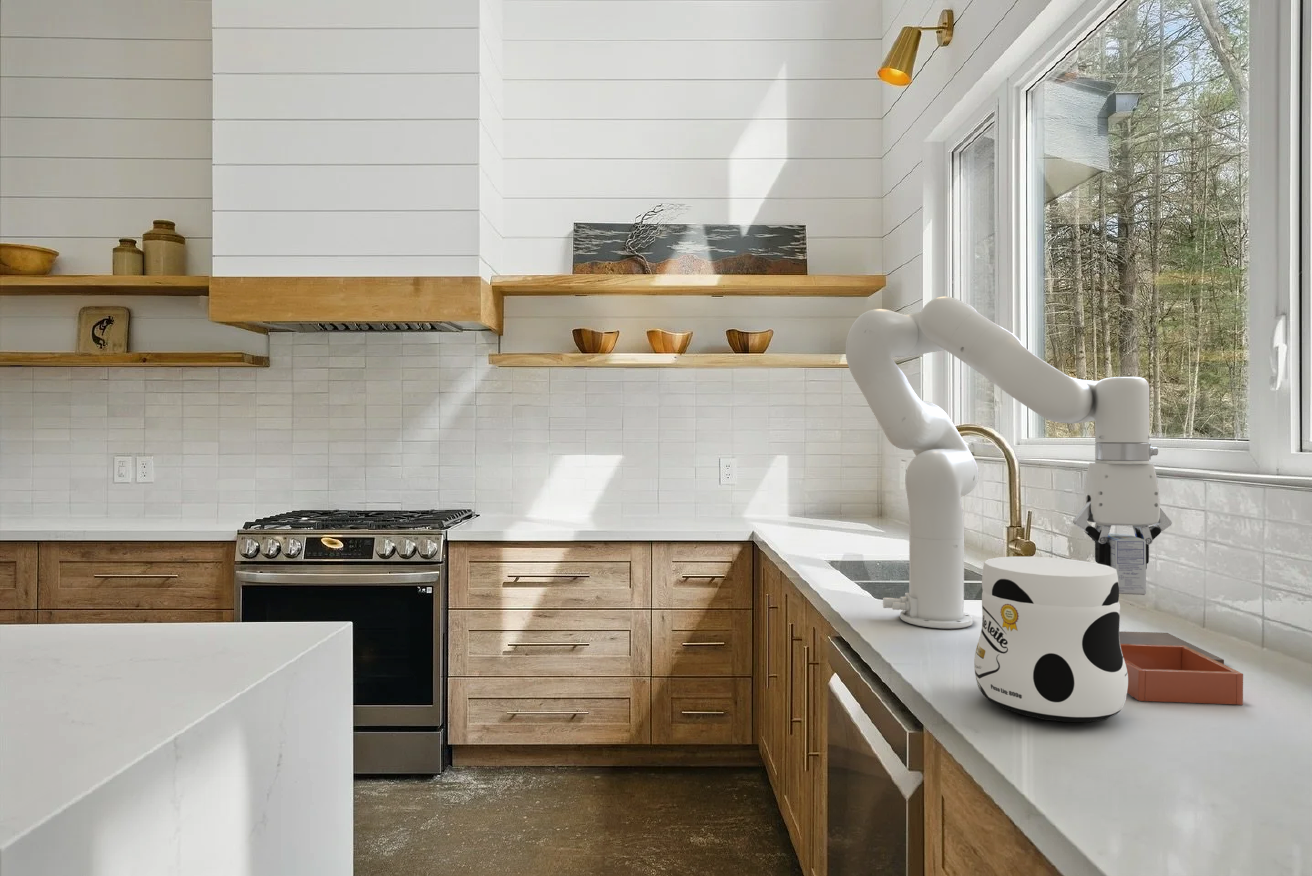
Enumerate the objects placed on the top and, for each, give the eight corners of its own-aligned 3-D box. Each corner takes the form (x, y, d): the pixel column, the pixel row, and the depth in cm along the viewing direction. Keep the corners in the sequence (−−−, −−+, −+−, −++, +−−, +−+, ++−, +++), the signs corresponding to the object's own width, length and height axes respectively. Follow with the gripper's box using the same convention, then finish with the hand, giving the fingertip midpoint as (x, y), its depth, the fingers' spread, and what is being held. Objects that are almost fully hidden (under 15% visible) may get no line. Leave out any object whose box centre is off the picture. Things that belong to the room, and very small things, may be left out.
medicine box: (1146, 595, 123) (1147, 539, 123) (1115, 594, 124) (1115, 538, 124) (1127, 586, 131) (1127, 533, 131) (1097, 584, 132) (1098, 532, 132)
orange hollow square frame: (1138, 700, 103) (1138, 670, 103) (1092, 669, 116) (1092, 642, 116) (1243, 704, 101) (1243, 673, 101) (1184, 672, 115) (1184, 645, 115)
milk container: (944, 696, 105) (945, 559, 104) (1040, 679, 111) (1040, 551, 111) (1057, 743, 89) (1058, 582, 88) (1161, 721, 96) (1162, 572, 95)
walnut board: (1069, 661, 121) (1069, 654, 121) (1031, 634, 137) (1031, 628, 137) (1224, 666, 118) (1224, 659, 118) (1167, 638, 134) (1167, 632, 134)
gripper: (1165, 453, 130) (1165, 565, 130) (1057, 453, 132) (1056, 563, 132) (1191, 455, 122) (1191, 573, 123) (1075, 454, 124) (1075, 571, 124)
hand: (1121, 566), depth 127 cm, fingers closed on medicine box, 4 cm apart
